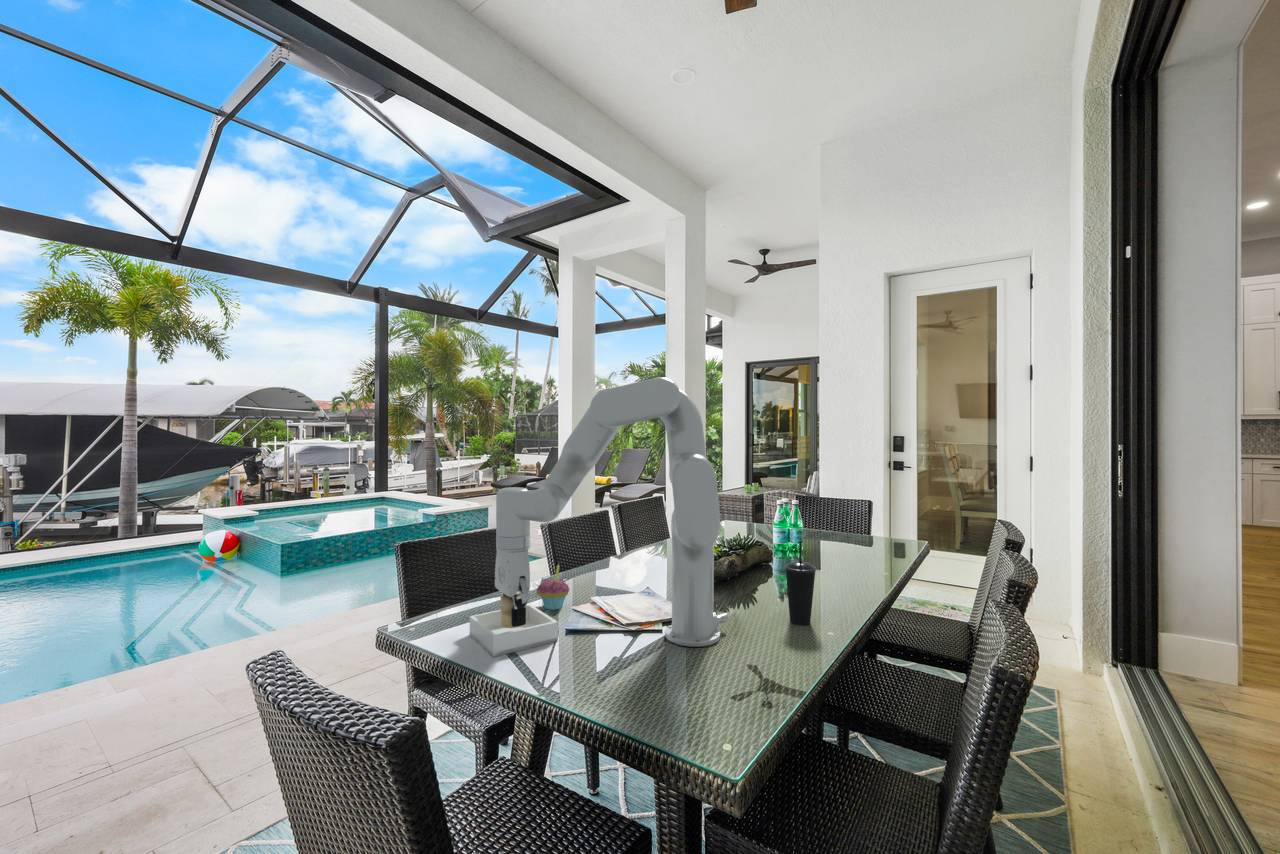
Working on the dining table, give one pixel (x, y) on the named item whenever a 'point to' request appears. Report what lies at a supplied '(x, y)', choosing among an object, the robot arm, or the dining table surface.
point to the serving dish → (513, 632)
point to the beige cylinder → (507, 611)
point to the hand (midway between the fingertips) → (513, 620)
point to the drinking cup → (800, 589)
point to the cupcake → (553, 592)
